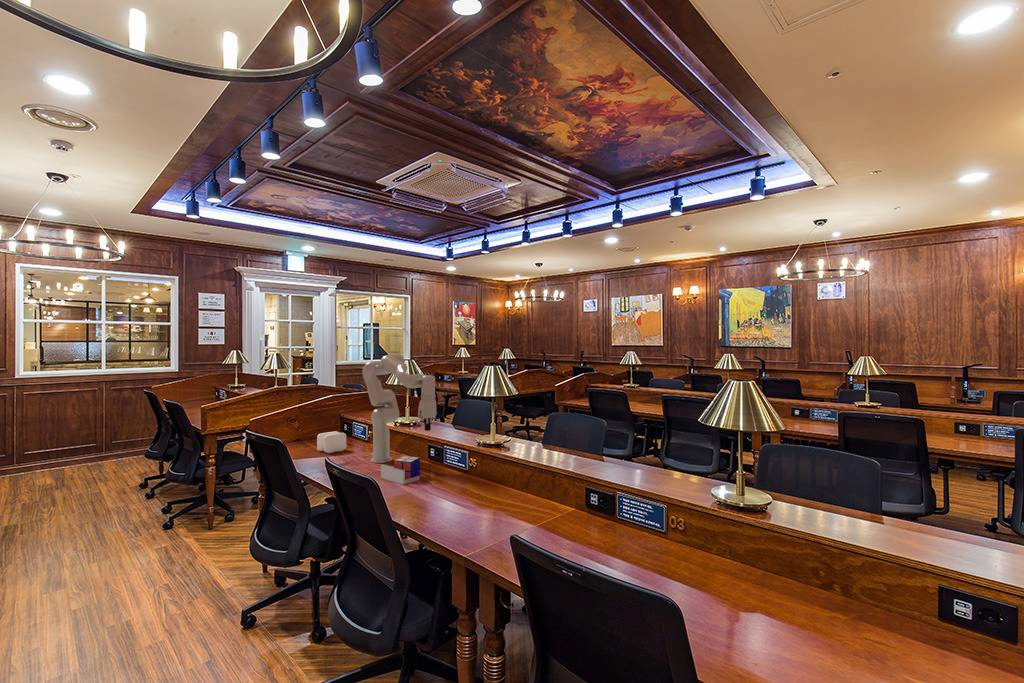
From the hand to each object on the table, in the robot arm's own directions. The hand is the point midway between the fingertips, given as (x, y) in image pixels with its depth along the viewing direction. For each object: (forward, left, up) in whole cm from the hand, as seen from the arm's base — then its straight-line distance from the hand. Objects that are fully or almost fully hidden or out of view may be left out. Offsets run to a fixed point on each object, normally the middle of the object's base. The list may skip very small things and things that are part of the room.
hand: (427, 430), depth 260 cm
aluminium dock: (+1, -20, -22) cm, 30 cm away
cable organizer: (-82, -10, -23) cm, 85 cm away
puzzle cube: (+3, -16, -23) cm, 28 cm away
